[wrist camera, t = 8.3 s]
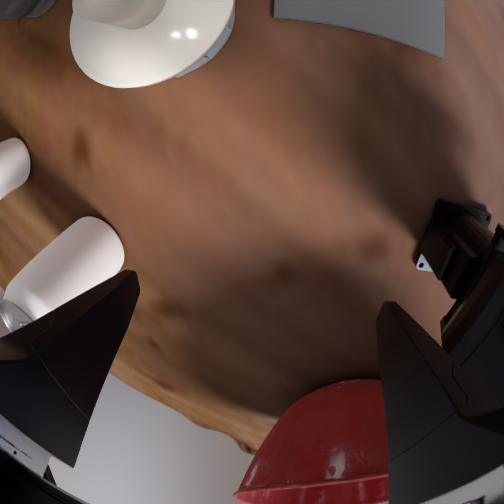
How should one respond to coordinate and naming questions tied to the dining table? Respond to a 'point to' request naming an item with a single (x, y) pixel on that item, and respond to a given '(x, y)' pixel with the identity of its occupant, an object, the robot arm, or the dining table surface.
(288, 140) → the dining table surface
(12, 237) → the dining table surface
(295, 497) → the mixing bowl
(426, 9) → the mat
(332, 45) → the dining table surface
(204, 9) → the lid
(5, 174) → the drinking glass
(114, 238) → the can
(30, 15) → the beverage cup
